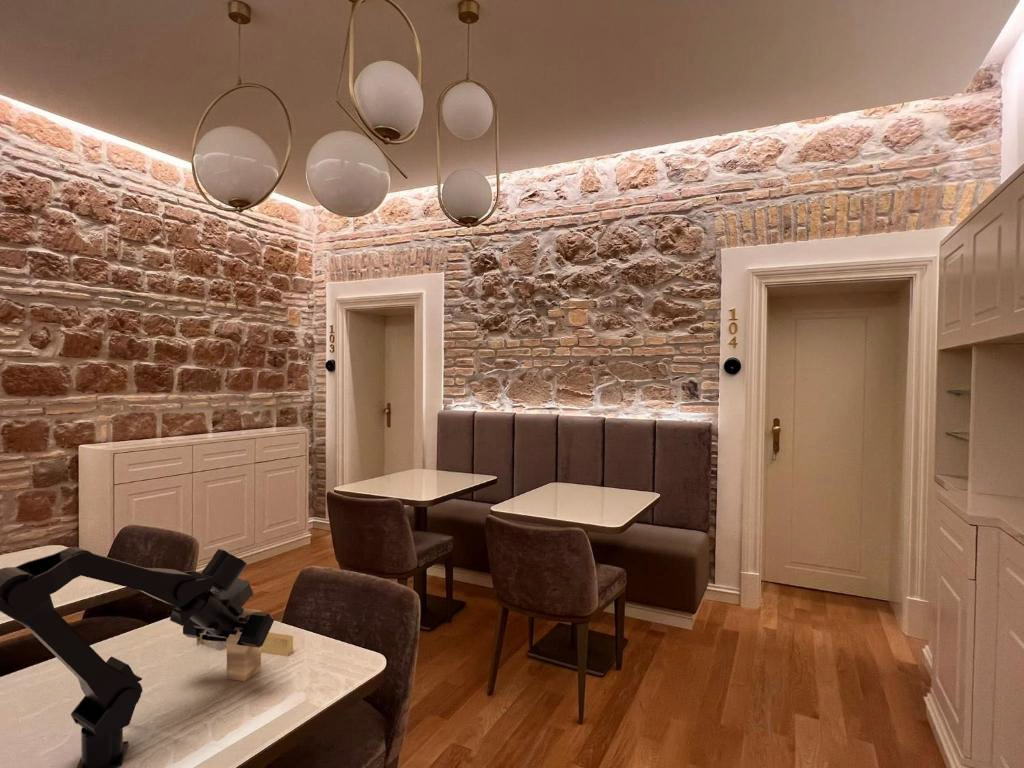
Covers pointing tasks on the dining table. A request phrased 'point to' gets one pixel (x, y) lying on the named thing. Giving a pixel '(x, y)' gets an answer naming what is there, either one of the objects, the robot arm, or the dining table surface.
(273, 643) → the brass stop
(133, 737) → the dining table surface
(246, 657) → the block
